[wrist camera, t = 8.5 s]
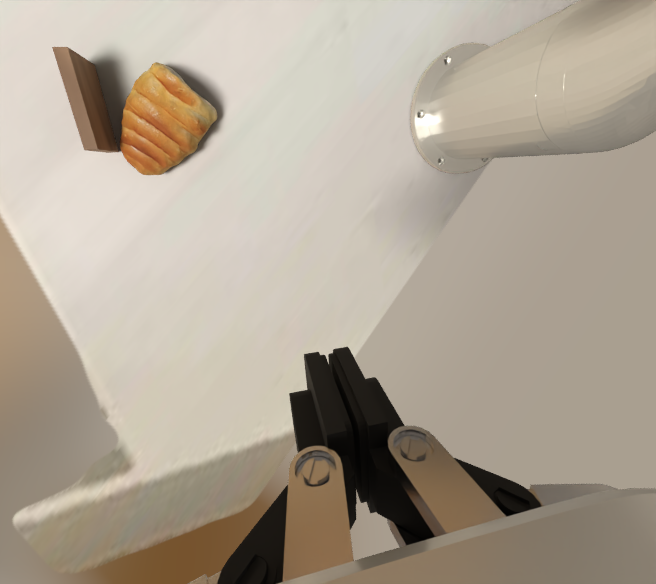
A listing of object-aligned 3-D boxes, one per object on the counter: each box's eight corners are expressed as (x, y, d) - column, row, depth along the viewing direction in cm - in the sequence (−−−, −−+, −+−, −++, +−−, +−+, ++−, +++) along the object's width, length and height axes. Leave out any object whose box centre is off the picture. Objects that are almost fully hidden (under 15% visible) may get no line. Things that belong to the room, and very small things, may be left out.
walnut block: (94, 64, 28) (67, 47, 24) (118, 152, 31) (97, 149, 27) (81, 65, 28) (52, 47, 24) (107, 152, 31) (84, 150, 26)
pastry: (172, 191, 33) (162, 193, 30) (105, 145, 31) (85, 141, 27) (223, 112, 32) (219, 104, 28) (157, 57, 29) (143, 42, 26)
